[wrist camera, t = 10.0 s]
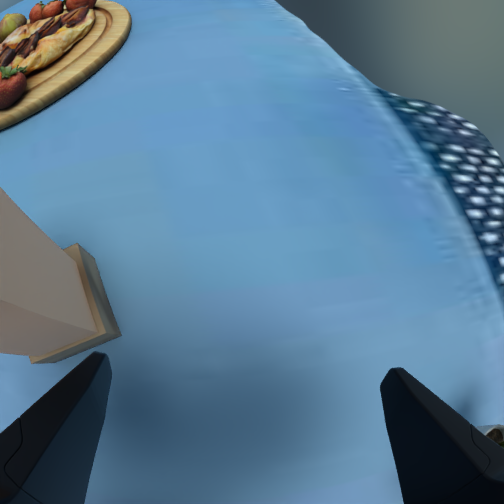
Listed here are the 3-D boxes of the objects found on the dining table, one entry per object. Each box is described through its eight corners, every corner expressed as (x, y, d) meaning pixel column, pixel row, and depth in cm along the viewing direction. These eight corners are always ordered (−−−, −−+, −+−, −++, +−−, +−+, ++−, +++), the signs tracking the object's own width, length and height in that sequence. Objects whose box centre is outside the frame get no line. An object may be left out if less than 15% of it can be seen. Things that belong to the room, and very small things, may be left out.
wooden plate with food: (98, 120, 26) (80, 60, 19) (-75, 159, 21) (-102, 128, 14) (150, -1, 37) (150, -38, 29) (5, 32, 31) (-4, 3, 24)
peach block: (98, 332, 17) (-30, 286, 5) (38, 356, 16) (-104, 333, 4) (76, 262, 18) (-29, 152, 7) (20, 287, 17) (-102, 211, 5)
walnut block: (122, 335, 21) (106, 332, 17) (56, 362, 19) (31, 363, 15) (95, 259, 22) (77, 242, 19) (33, 288, 21) (8, 277, 17)
